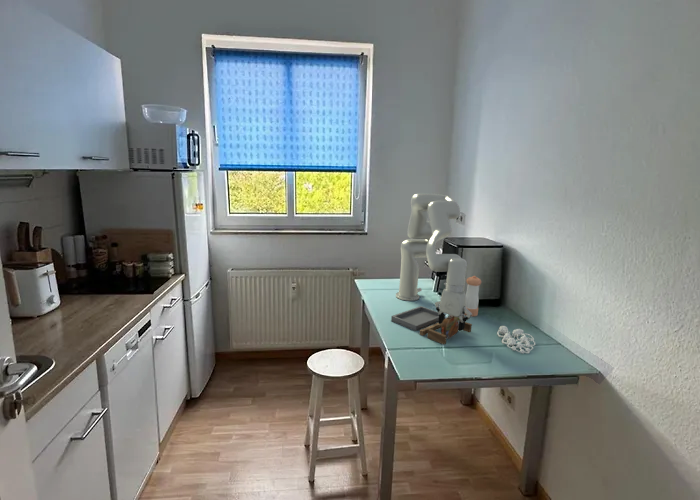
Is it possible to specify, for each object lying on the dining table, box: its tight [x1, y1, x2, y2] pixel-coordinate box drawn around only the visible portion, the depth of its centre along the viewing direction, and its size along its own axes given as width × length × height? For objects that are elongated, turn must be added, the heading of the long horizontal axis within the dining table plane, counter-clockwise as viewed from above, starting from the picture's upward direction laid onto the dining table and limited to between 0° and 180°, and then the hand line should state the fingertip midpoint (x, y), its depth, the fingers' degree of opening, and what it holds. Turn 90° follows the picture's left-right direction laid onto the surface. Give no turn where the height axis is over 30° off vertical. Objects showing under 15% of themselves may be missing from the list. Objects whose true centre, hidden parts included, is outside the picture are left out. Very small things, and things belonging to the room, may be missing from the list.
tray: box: [390, 305, 446, 332], centre depth 187 cm, size 22×14×2 cm, turn 134°
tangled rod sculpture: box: [496, 325, 536, 354], centre depth 167 cm, size 19×14×4 cm
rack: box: [419, 321, 473, 345], centre depth 174 cm, size 21×12×4 cm, turn 134°
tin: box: [440, 315, 460, 340], centre depth 172 cm, size 15×3×8 cm, turn 143°
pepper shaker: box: [465, 275, 482, 317], centre depth 197 cm, size 7×7×19 cm
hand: (450, 326), depth 172 cm, fingers open, 9 cm apart
